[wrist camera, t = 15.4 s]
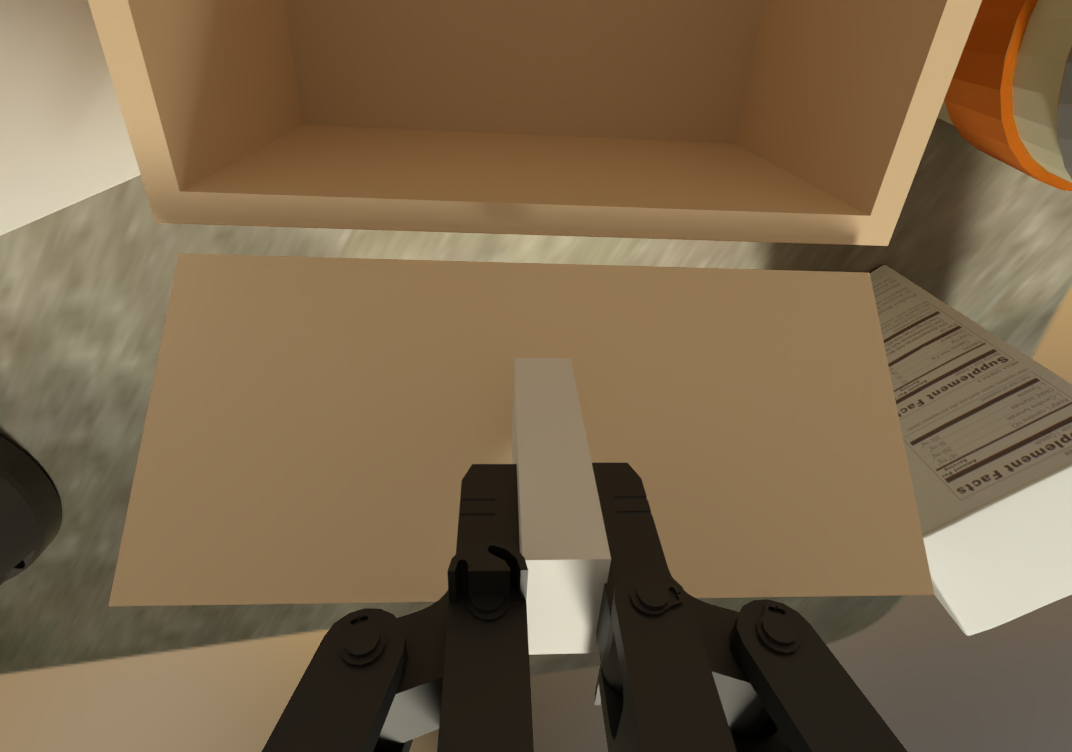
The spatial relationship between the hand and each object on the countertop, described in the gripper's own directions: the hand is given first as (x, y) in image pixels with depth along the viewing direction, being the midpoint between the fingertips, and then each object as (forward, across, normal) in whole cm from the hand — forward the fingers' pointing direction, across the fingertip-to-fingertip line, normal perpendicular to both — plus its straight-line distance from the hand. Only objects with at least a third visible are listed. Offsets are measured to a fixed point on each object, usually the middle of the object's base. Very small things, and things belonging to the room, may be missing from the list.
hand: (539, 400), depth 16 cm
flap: (+1, 0, -1) cm, 1 cm away
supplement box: (+20, +22, -10) cm, 31 cm away
